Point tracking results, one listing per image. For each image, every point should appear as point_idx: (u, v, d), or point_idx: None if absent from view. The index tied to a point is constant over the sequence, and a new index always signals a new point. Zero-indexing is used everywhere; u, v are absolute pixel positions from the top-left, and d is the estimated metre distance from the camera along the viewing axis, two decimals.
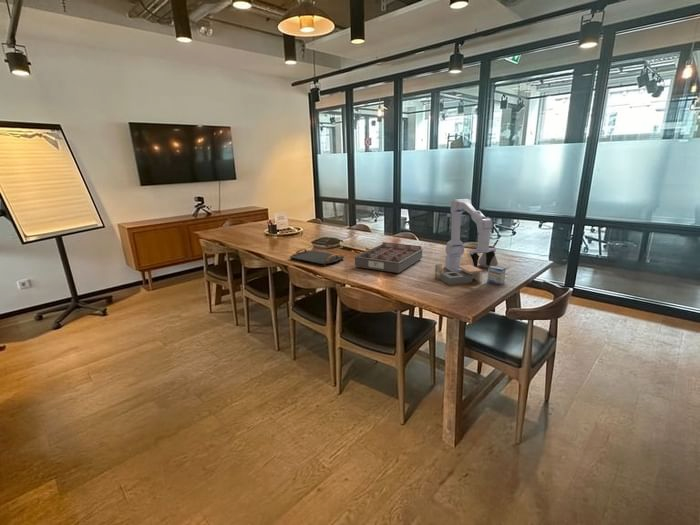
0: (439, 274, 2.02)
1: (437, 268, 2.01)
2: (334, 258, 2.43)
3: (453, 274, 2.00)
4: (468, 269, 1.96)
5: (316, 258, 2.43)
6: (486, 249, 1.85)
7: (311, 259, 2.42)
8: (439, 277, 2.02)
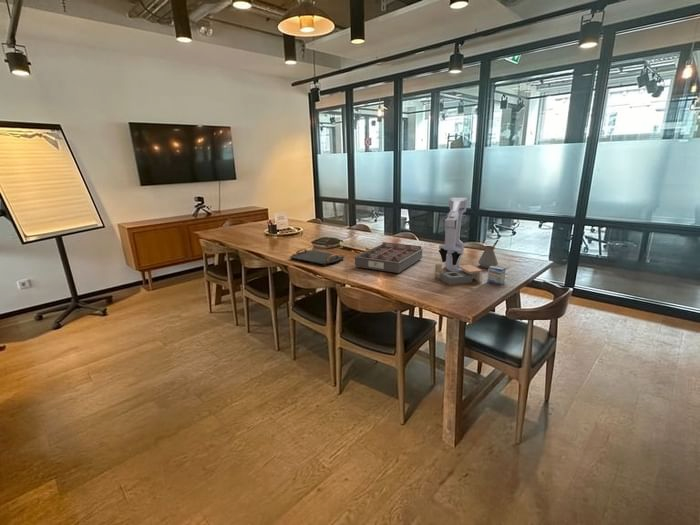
0: (439, 274, 2.02)
1: (437, 268, 2.01)
2: (334, 258, 2.43)
3: (453, 274, 2.00)
4: (468, 269, 1.96)
5: (316, 258, 2.43)
6: (446, 247, 1.95)
7: (311, 259, 2.42)
8: (439, 277, 2.02)
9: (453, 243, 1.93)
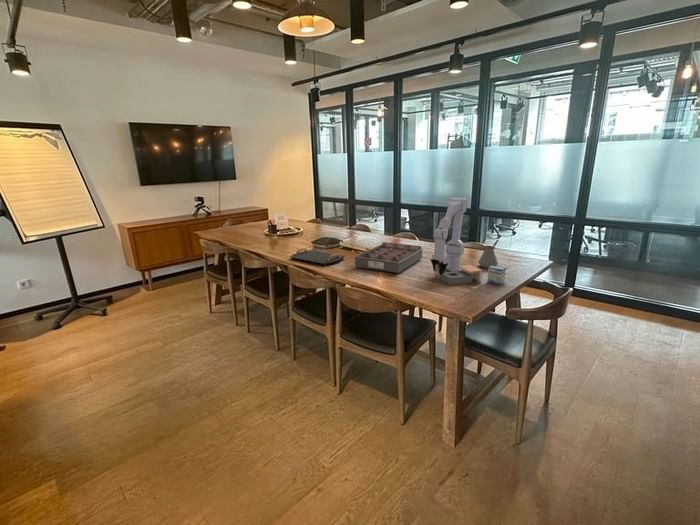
0: (439, 274, 2.02)
1: (437, 268, 2.01)
2: (335, 258, 2.43)
3: (453, 274, 2.00)
4: (468, 269, 1.96)
5: (317, 258, 2.44)
6: (434, 256, 2.00)
7: (312, 259, 2.42)
8: (439, 277, 2.02)
9: (441, 253, 1.97)
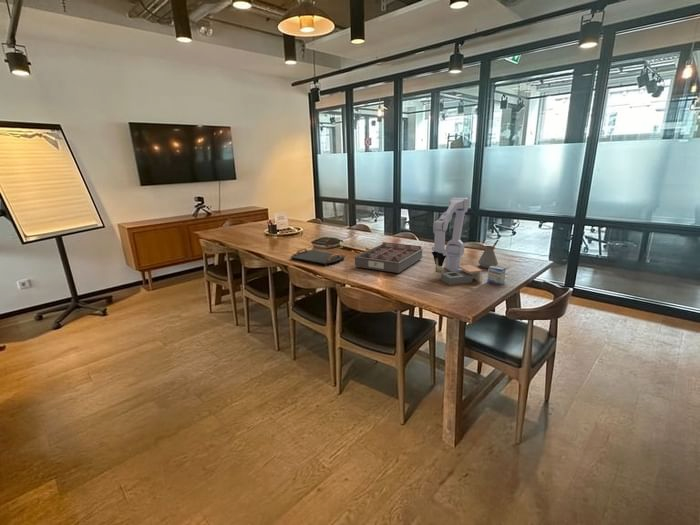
0: (439, 268, 2.01)
1: (437, 262, 2.00)
2: (335, 258, 2.44)
3: (453, 274, 2.00)
4: (468, 269, 1.96)
5: (317, 258, 2.44)
6: (435, 248, 1.99)
7: (312, 259, 2.42)
8: (439, 271, 2.01)
9: (441, 245, 1.96)
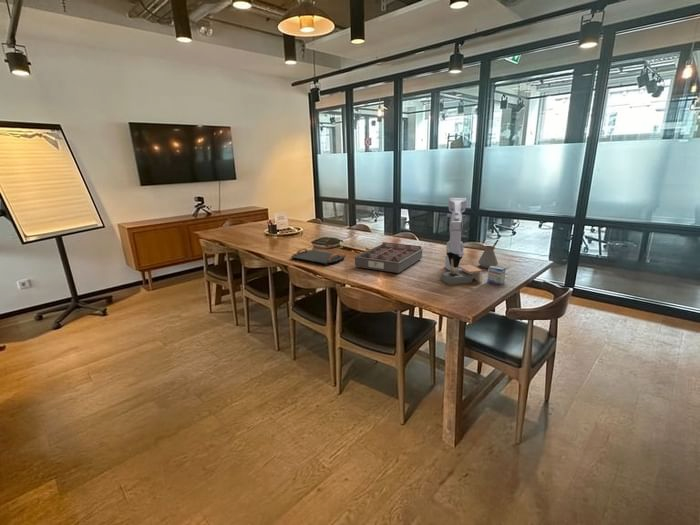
0: (455, 269, 1.94)
1: None
2: (335, 257, 2.44)
3: (453, 274, 2.00)
4: (468, 269, 1.96)
5: (318, 258, 2.44)
6: (450, 249, 1.92)
7: (313, 259, 2.43)
8: (455, 272, 1.95)
9: (456, 246, 1.89)
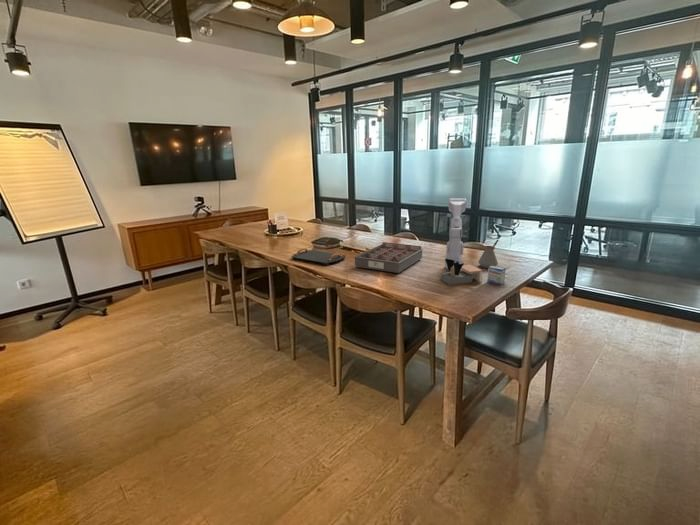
0: None
1: (452, 271, 1.95)
2: (336, 257, 2.44)
3: None
4: (468, 269, 1.96)
5: (318, 258, 2.45)
6: (449, 256, 1.93)
7: (313, 258, 2.43)
8: None
9: (456, 253, 1.91)
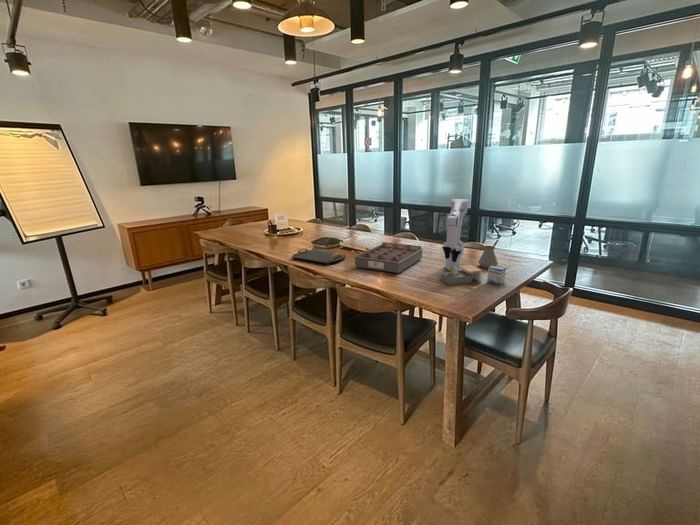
0: None
1: (452, 271, 1.95)
2: (336, 257, 2.45)
3: None
4: (468, 269, 1.96)
5: (319, 257, 2.45)
6: (447, 244, 2.00)
7: (314, 258, 2.43)
8: None
9: (453, 240, 1.98)
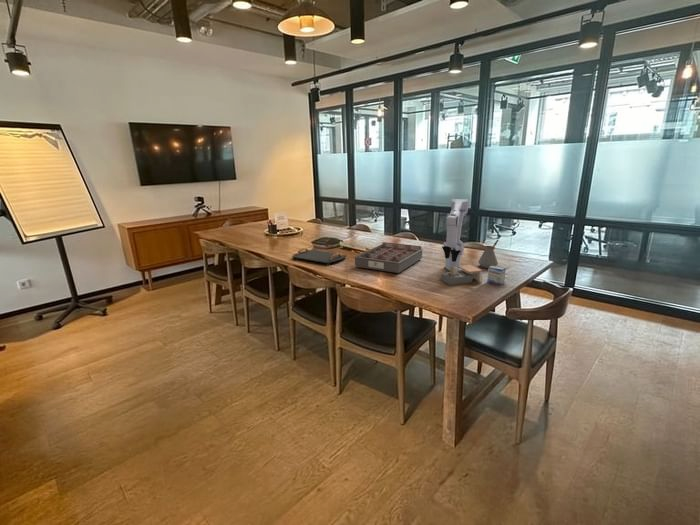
0: None
1: (452, 271, 1.95)
2: (337, 257, 2.45)
3: None
4: (468, 269, 1.96)
5: (319, 257, 2.45)
6: (447, 243, 2.01)
7: (314, 258, 2.44)
8: None
9: (453, 240, 1.98)
